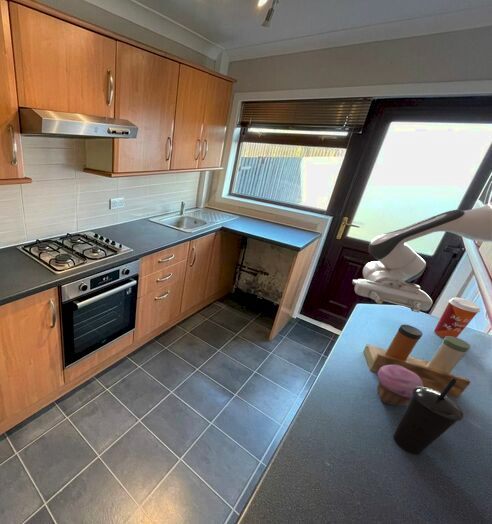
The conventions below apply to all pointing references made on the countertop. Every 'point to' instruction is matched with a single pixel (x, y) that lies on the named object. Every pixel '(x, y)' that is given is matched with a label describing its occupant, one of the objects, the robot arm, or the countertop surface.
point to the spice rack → (416, 370)
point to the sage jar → (448, 354)
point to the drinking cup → (426, 418)
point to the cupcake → (397, 384)
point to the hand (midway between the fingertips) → (398, 305)
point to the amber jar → (404, 342)
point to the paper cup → (456, 317)
